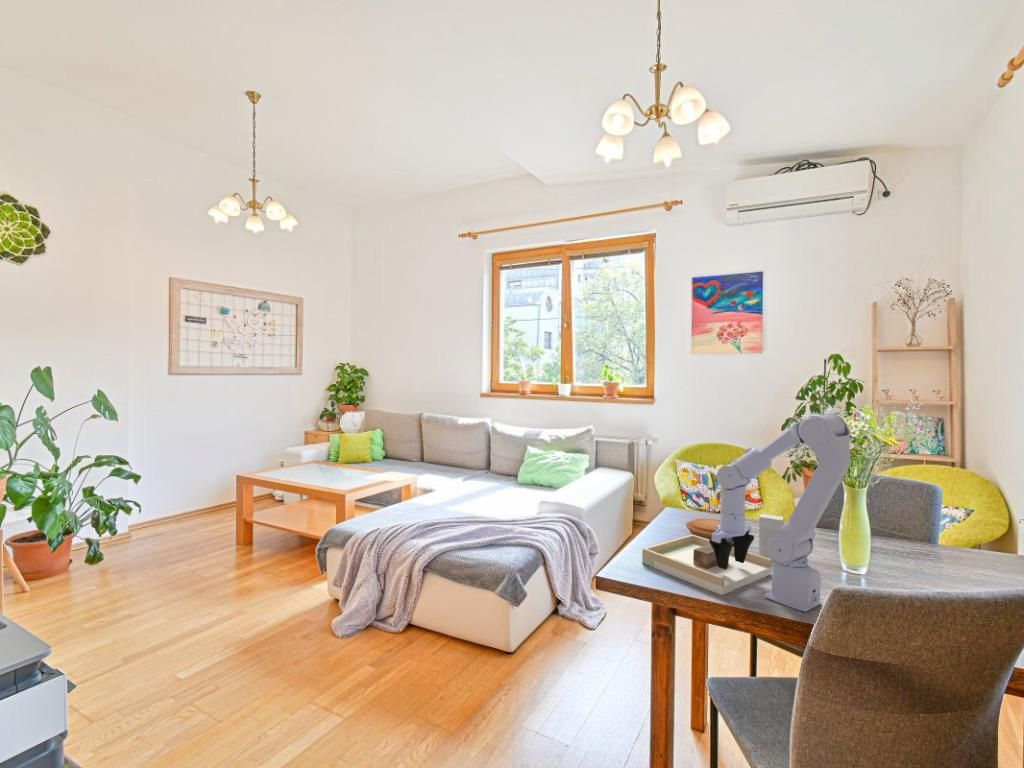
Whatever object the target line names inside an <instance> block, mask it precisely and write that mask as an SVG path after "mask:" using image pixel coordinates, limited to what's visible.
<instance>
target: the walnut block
mask: <svg viewBox="0 0 1024 768" xmlns="http://www.w3.org/2000/svg"><path fill="white" fill-rule="evenodd" d="M693 564H694V565H697V566H699V567H702V568H705V569H709V568H712V567H714V566H717V565H718V564H717V560H716V556H715V552H714V550H713V548H712V546H711V544H709V545H705V546H702V547H699V548H696V549H694V556H693Z"/></svg>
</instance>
